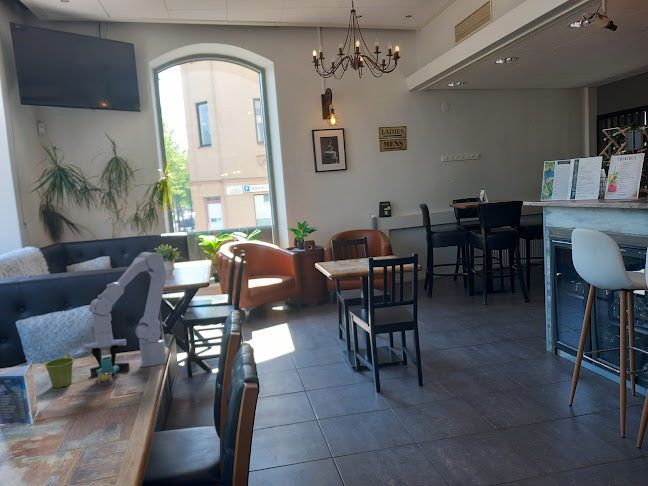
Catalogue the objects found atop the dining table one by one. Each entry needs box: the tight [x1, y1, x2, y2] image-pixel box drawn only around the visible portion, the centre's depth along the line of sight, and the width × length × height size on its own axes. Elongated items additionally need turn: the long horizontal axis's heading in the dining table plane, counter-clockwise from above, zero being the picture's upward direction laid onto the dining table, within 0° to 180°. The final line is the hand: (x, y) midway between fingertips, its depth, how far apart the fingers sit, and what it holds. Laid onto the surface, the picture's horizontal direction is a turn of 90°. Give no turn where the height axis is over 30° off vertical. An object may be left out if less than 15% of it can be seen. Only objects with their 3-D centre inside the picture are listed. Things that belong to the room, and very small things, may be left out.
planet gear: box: [97, 355, 119, 374], centre depth 182 cm, size 8×8×5 cm
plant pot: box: [44, 357, 74, 389], centre depth 177 cm, size 9×9×9 cm
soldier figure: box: [63, 351, 73, 358], centre depth 198 cm, size 8×5×12 cm
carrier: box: [89, 361, 131, 387], centre depth 181 cm, size 14×15×5 cm
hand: (107, 366), depth 182 cm, fingers closed on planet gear, 3 cm apart
